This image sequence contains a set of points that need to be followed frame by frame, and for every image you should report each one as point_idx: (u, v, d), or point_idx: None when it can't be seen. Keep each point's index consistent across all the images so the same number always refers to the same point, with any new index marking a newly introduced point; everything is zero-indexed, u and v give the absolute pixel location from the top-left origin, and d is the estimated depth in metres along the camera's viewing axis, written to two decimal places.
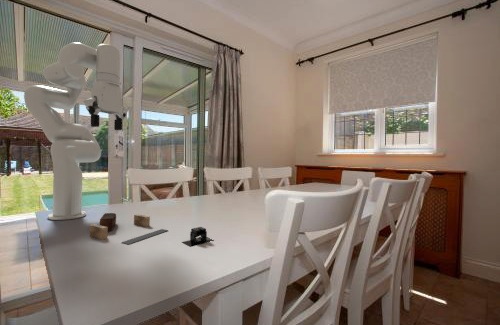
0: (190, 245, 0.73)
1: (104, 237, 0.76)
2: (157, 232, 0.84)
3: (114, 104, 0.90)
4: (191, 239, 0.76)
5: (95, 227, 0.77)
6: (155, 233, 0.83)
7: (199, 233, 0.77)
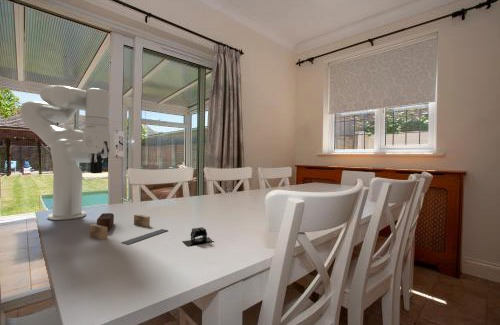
0: (188, 245, 0.73)
1: (104, 237, 0.76)
2: (157, 232, 0.84)
3: None
4: (191, 239, 0.76)
5: (95, 227, 0.77)
6: (155, 233, 0.83)
7: (199, 233, 0.76)
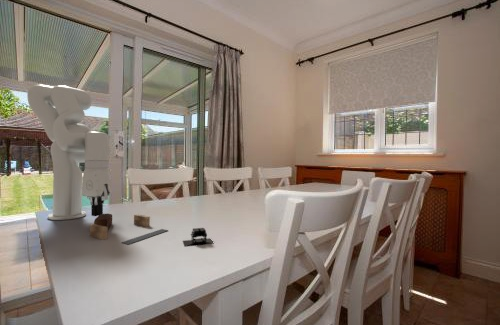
0: (186, 245, 0.73)
1: (104, 237, 0.76)
2: (157, 232, 0.84)
3: None
4: (191, 239, 0.76)
5: (95, 227, 0.77)
6: (155, 233, 0.83)
7: (199, 234, 0.76)
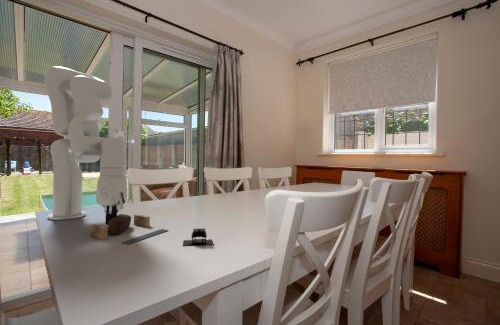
0: (185, 244, 0.74)
1: (104, 237, 0.76)
2: (157, 232, 0.84)
3: None
4: (192, 239, 0.76)
5: (95, 227, 0.77)
6: (155, 233, 0.83)
7: (199, 234, 0.76)
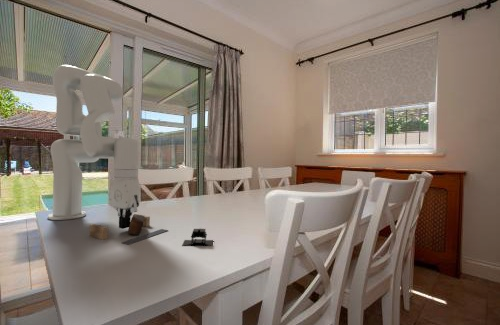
0: (185, 244, 0.74)
1: (104, 237, 0.76)
2: (157, 232, 0.84)
3: None
4: (192, 239, 0.76)
5: (95, 227, 0.77)
6: (155, 233, 0.83)
7: (198, 235, 0.75)
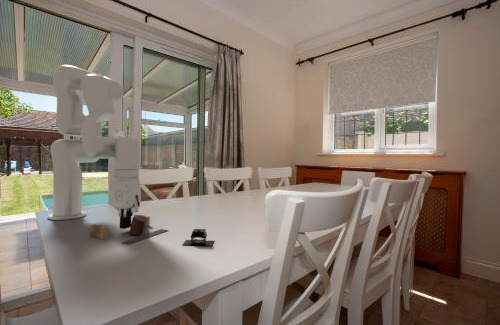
0: (184, 244, 0.74)
1: (104, 237, 0.76)
2: (157, 232, 0.84)
3: None
4: None
5: (95, 227, 0.77)
6: (155, 233, 0.83)
7: (198, 235, 0.75)
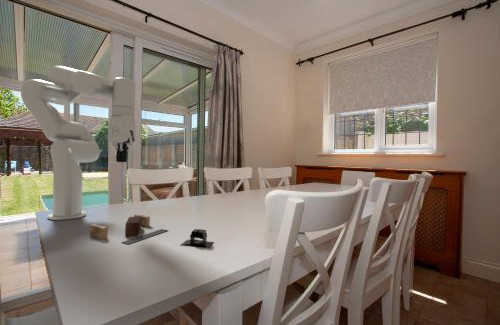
0: (183, 244, 0.74)
1: (104, 237, 0.76)
2: (157, 232, 0.84)
3: None
4: None
5: (95, 227, 0.77)
6: (155, 233, 0.83)
7: (197, 235, 0.75)
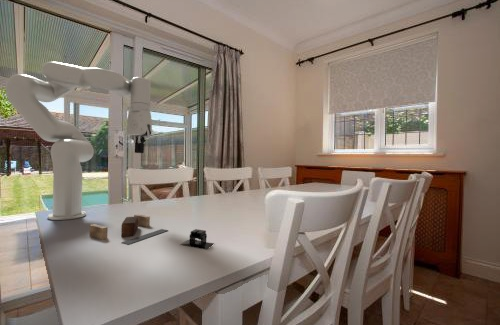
0: (183, 243, 0.74)
1: (104, 237, 0.76)
2: (157, 232, 0.84)
3: None
4: None
5: (95, 227, 0.77)
6: (155, 233, 0.83)
7: (197, 236, 0.74)
